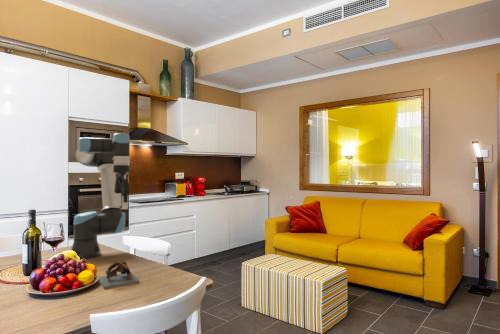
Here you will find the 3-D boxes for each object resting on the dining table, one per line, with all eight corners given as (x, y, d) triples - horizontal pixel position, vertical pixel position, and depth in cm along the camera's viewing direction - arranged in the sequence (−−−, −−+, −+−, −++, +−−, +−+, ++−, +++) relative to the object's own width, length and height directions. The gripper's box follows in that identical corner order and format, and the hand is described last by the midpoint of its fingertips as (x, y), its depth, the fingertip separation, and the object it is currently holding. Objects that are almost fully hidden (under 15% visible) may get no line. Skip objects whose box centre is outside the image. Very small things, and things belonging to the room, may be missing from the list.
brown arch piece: (131, 283, 144) (120, 267, 142) (110, 292, 145) (100, 277, 142) (136, 267, 156) (127, 252, 154) (118, 276, 156) (108, 262, 154)
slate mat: (97, 279, 150) (97, 277, 150) (130, 273, 158) (130, 271, 158) (104, 289, 139) (104, 286, 139) (139, 282, 147) (139, 280, 147)
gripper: (108, 164, 180) (108, 205, 180) (119, 164, 159) (119, 211, 160) (123, 164, 184) (123, 204, 185) (136, 164, 163) (136, 209, 164)
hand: (121, 207), depth 172 cm, fingers open, 13 cm apart
